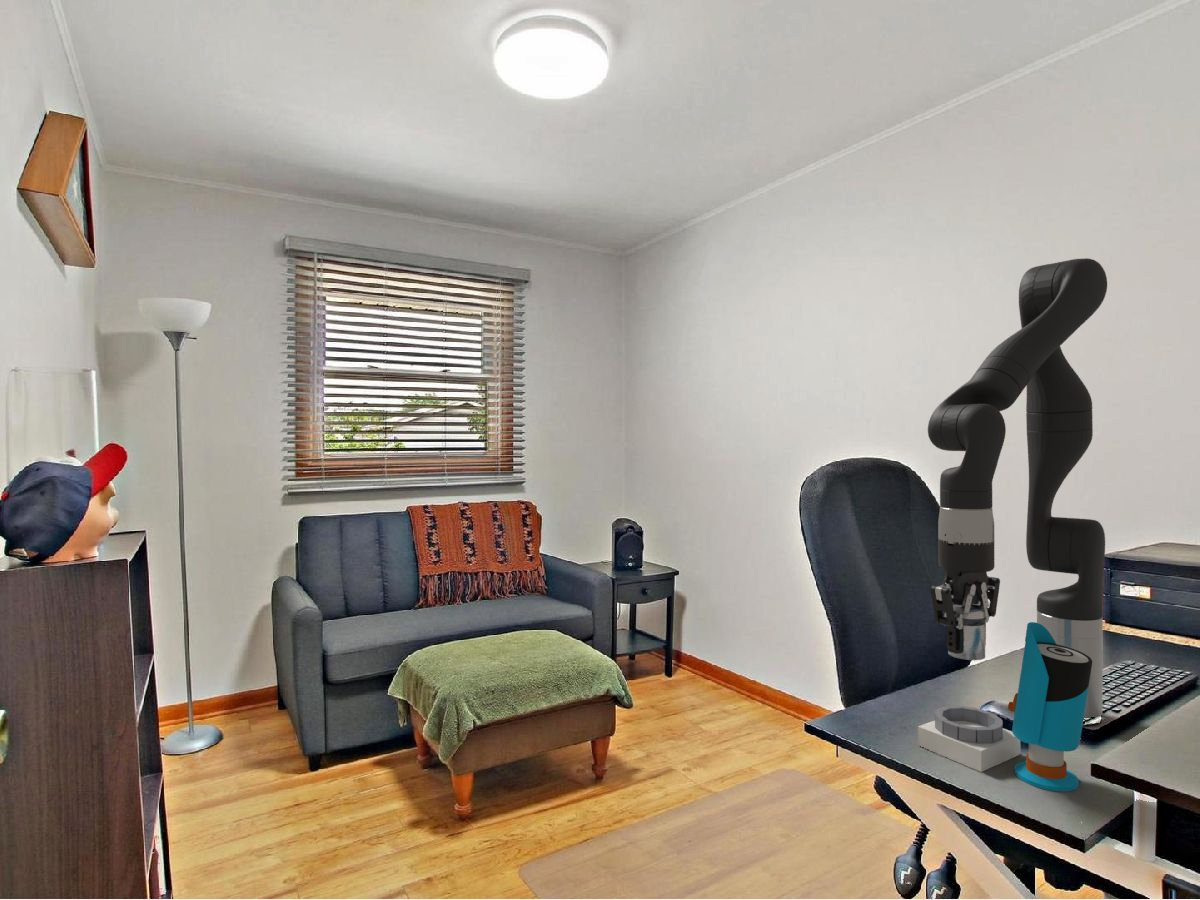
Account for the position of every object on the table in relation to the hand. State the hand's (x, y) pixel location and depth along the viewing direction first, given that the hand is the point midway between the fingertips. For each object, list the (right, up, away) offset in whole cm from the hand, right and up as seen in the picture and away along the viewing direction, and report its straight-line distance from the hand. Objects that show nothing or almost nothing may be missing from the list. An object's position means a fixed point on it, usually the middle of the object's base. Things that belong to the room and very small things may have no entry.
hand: (966, 648), depth 108 cm
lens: (0, -1, 0) cm, 1 cm away
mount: (0, -15, 0) cm, 15 cm away
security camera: (+7, -16, -9) cm, 19 cm away
